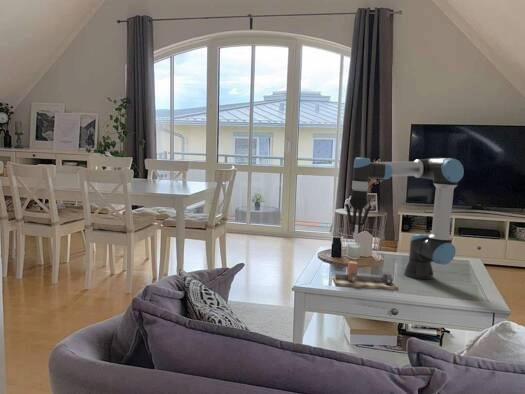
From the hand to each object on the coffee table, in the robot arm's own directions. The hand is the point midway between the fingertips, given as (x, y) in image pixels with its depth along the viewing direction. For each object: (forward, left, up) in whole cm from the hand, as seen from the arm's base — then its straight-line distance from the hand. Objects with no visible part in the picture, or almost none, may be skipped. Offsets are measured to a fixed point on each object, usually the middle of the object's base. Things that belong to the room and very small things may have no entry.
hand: (355, 238), depth 234 cm
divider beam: (-7, -2, -23) cm, 24 cm away
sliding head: (-1, -3, -21) cm, 21 cm away
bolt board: (-7, -2, -23) cm, 24 cm away
